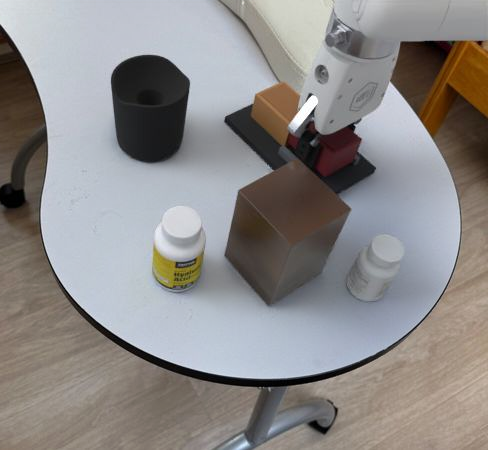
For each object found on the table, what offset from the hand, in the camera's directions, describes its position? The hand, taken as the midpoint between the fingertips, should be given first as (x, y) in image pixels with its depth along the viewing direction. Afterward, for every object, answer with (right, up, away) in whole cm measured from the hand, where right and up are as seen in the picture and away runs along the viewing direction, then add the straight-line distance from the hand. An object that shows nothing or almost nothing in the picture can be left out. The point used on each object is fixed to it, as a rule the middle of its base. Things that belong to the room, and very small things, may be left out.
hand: (321, 150), depth 75 cm
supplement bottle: (-18, -15, -9) cm, 25 cm away
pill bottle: (+3, -16, -8) cm, 19 cm away
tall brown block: (-7, -14, -7) cm, 18 cm away
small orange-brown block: (-4, +4, +5) cm, 8 cm away
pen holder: (-22, +2, +3) cm, 22 cm away
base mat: (-2, +1, +4) cm, 5 cm away
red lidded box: (0, 0, 0) cm, 0 cm away
